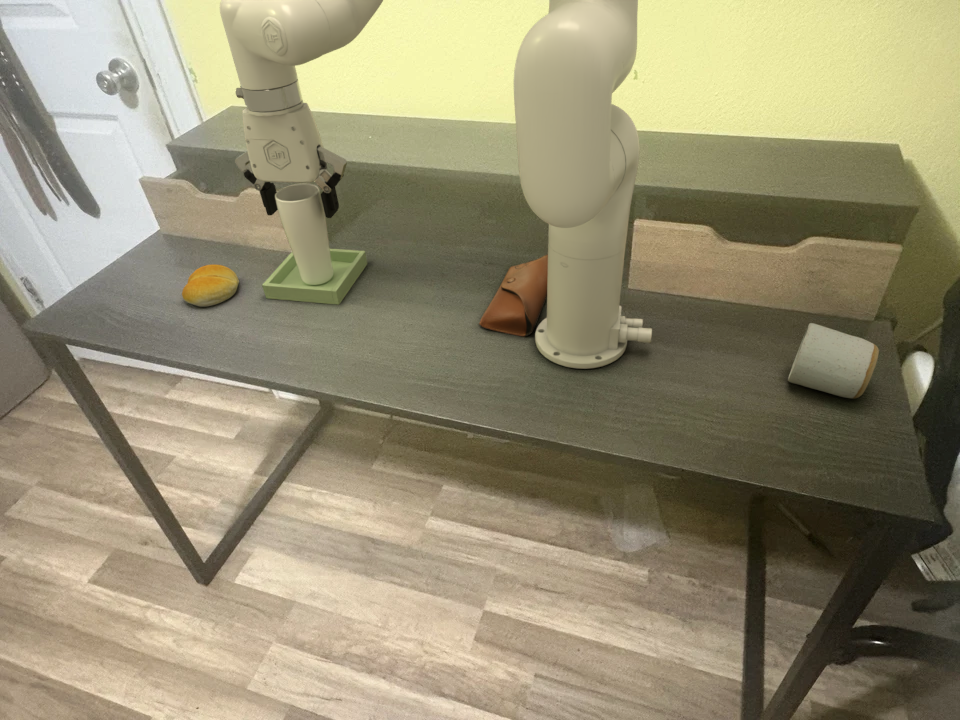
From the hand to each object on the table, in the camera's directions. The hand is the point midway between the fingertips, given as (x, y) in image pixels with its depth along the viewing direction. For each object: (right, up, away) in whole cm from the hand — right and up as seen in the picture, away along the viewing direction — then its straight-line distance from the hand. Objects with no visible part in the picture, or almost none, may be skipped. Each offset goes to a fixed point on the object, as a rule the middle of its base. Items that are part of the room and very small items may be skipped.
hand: (303, 212), depth 97 cm
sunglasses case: (+33, -13, 0) cm, 36 cm away
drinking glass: (0, -9, +7) cm, 12 cm away
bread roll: (-17, -12, +7) cm, 21 cm away
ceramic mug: (+70, -25, -17) cm, 76 cm away
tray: (0, -9, +8) cm, 12 cm away
